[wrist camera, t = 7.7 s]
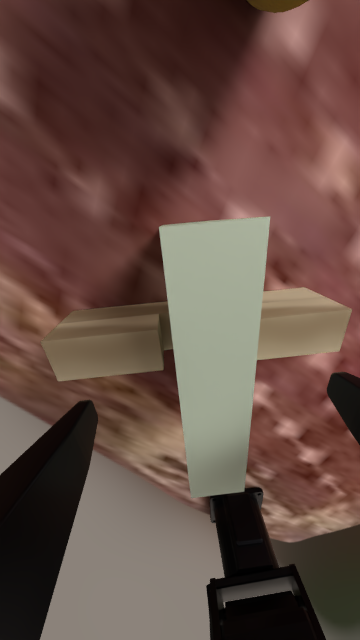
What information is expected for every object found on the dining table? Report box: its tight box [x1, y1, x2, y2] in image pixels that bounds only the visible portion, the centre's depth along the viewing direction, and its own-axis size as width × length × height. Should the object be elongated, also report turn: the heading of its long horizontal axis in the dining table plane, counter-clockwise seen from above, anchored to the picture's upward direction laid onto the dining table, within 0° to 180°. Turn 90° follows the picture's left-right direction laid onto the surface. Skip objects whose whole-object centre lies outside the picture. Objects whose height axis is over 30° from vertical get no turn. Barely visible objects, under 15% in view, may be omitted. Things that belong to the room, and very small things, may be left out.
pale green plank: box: [159, 217, 270, 498], centre depth 11 cm, size 12×3×8 cm, turn 5°
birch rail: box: [41, 287, 352, 381], centre depth 13 cm, size 3×16×4 cm, turn 95°
